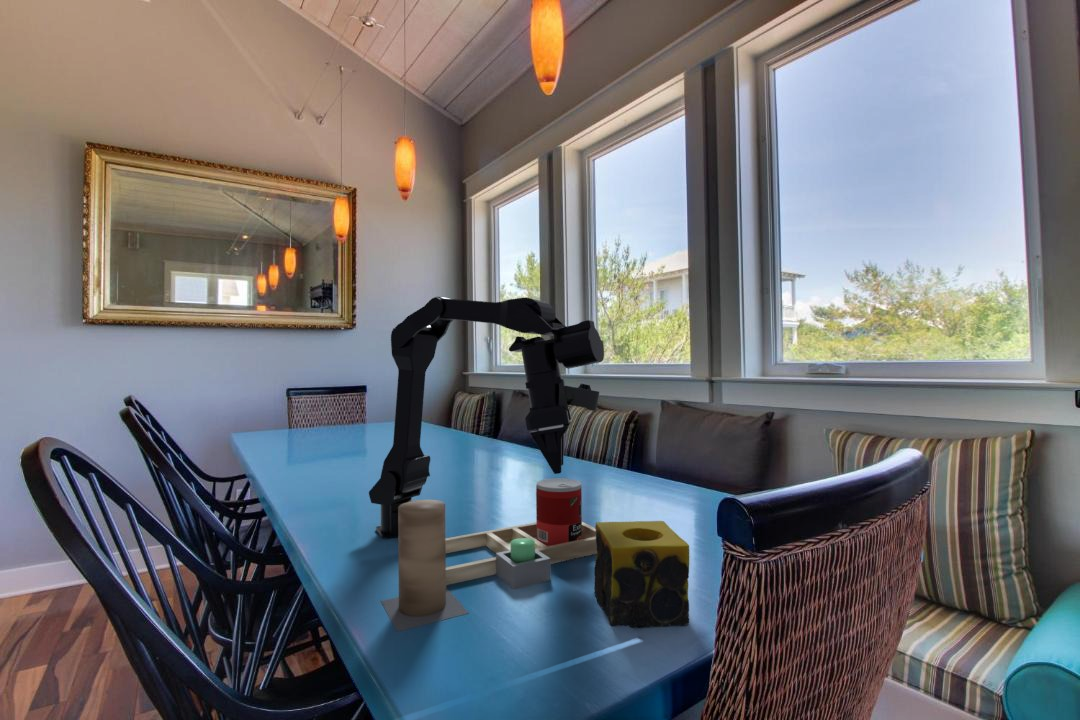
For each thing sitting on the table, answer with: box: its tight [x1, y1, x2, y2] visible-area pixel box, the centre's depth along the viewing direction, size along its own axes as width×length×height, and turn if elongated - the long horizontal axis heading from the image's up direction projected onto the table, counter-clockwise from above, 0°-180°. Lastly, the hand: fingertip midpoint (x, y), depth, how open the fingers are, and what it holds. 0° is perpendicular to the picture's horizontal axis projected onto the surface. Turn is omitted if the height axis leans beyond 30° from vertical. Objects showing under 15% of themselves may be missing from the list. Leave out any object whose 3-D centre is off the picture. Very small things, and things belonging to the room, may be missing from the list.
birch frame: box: [445, 521, 597, 586], centre depth 86 cm, size 13×30×2 cm, turn 119°
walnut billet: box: [397, 499, 447, 617], centre depth 68 cm, size 6×6×13 cm
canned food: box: [535, 477, 583, 546], centre depth 90 cm, size 8×8×11 cm
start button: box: [511, 538, 535, 564], centre depth 76 cm, size 4×4×3 cm
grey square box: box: [495, 549, 552, 590], centre depth 76 cm, size 6×6×4 cm
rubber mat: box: [380, 586, 470, 633], centre depth 67 cm, size 9×9×1 cm
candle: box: [593, 520, 690, 629], centre depth 67 cm, size 10×10×10 cm
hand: (559, 469), depth 83 cm, fingers open, 9 cm apart
